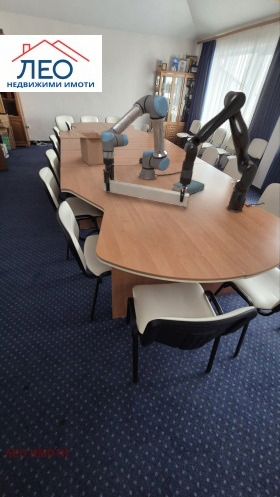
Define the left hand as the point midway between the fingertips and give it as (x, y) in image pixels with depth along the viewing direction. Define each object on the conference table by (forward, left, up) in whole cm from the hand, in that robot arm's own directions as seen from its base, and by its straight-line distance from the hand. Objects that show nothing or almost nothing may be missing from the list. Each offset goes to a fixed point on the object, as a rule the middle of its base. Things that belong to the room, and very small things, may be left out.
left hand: (109, 189), depth 166 cm
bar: (-25, +11, -1) cm, 27 cm away
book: (-66, -13, -4) cm, 67 cm away
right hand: (-50, +22, +2) cm, 55 cm away
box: (+18, -89, -4) cm, 91 cm away
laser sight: (-42, -83, -4) cm, 93 cm away
